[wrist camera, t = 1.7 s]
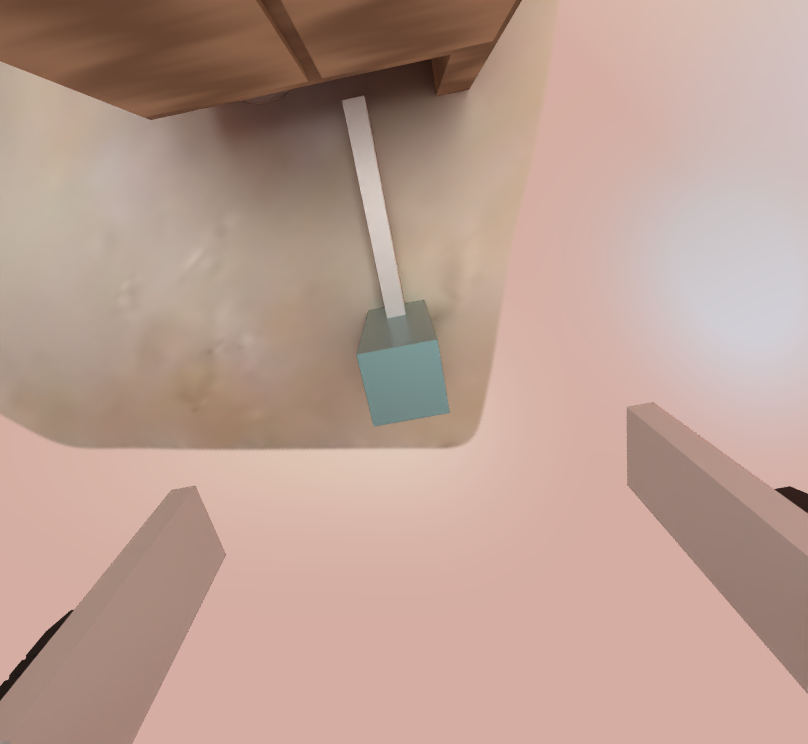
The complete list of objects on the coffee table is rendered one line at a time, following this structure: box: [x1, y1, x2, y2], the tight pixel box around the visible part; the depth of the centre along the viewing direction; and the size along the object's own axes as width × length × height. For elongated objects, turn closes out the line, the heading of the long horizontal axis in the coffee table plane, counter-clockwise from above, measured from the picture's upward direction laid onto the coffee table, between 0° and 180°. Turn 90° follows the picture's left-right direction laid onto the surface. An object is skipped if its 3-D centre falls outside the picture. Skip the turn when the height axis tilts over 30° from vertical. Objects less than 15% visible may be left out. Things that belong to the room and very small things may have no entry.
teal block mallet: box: [342, 96, 450, 426], centre depth 24 cm, size 4×16×10 cm, turn 11°
